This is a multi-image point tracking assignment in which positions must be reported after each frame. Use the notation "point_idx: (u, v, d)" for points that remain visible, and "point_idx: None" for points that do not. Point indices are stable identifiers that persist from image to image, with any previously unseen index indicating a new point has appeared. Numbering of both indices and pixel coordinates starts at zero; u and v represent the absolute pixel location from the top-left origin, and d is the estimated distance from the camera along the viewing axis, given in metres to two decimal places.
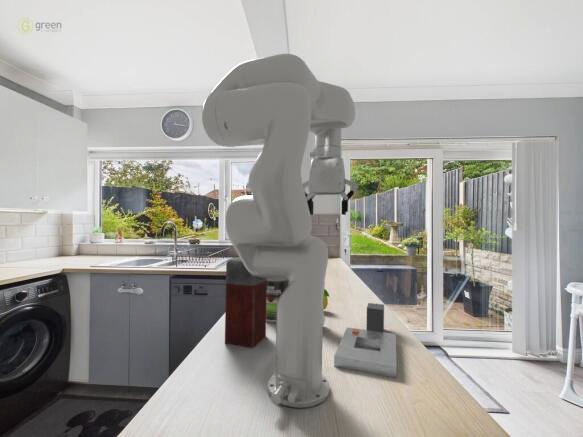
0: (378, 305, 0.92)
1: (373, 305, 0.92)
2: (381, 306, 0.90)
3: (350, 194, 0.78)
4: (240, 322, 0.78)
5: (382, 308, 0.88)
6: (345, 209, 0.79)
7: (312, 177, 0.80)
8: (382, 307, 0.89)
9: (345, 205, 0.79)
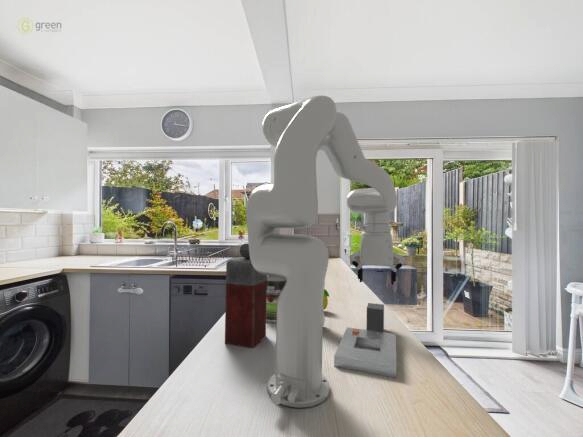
0: (378, 305, 0.92)
1: (373, 305, 0.92)
2: (381, 306, 0.90)
3: (399, 266, 0.88)
4: (240, 322, 0.78)
5: (382, 308, 0.88)
6: (394, 279, 0.89)
7: (363, 250, 0.90)
8: (382, 307, 0.89)
9: (394, 276, 0.89)
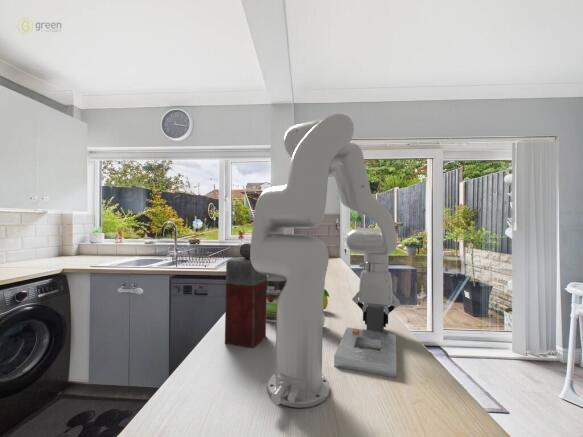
0: (378, 305, 0.92)
1: (373, 305, 0.92)
2: (381, 306, 0.90)
3: (391, 309, 0.88)
4: (240, 322, 0.78)
5: (382, 308, 0.88)
6: (386, 322, 0.89)
7: (363, 289, 0.90)
8: (382, 307, 0.90)
9: (386, 318, 0.89)
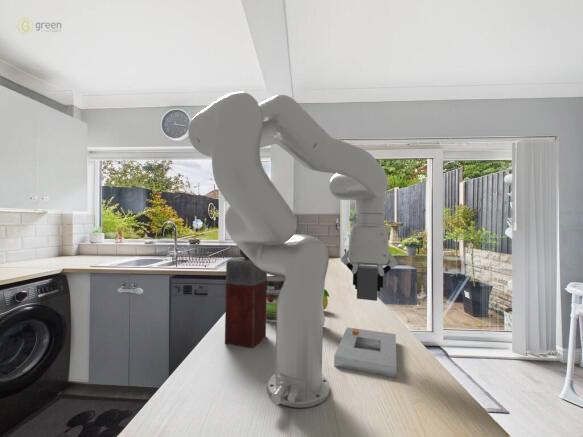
0: (371, 266, 0.76)
1: (365, 266, 0.76)
2: (375, 267, 0.75)
3: (386, 270, 0.73)
4: (240, 322, 0.78)
5: (376, 268, 0.73)
6: (381, 285, 0.73)
7: (353, 245, 0.74)
8: (376, 267, 0.74)
9: (381, 281, 0.73)
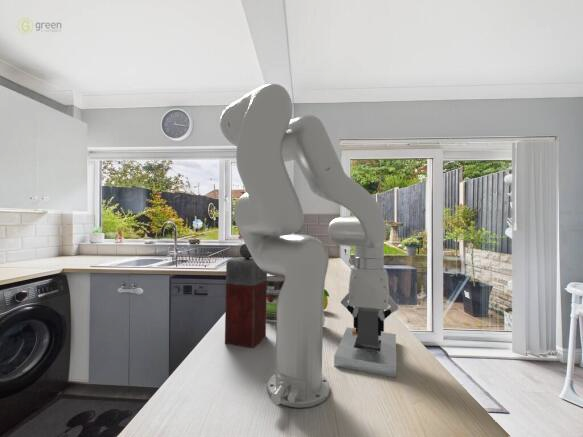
0: None
1: None
2: (375, 310, 0.75)
3: (387, 314, 0.73)
4: (240, 322, 0.78)
5: (376, 312, 0.73)
6: (381, 329, 0.73)
7: (353, 290, 0.74)
8: (376, 311, 0.74)
9: (381, 325, 0.73)
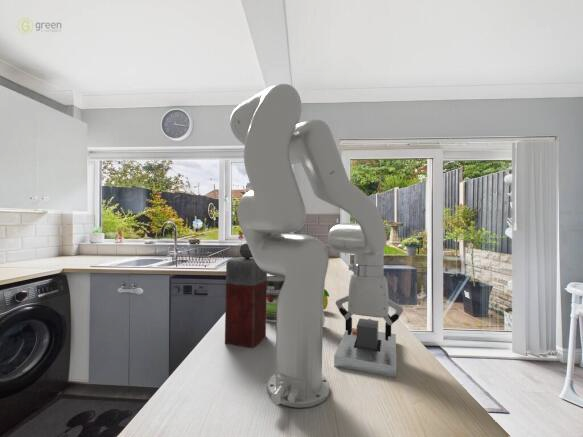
0: (371, 322, 0.76)
1: (365, 322, 0.76)
2: (374, 324, 0.74)
3: (395, 319, 0.72)
4: (240, 322, 0.78)
5: (375, 326, 0.73)
6: (389, 334, 0.72)
7: (352, 297, 0.74)
8: (375, 324, 0.74)
9: (389, 330, 0.72)
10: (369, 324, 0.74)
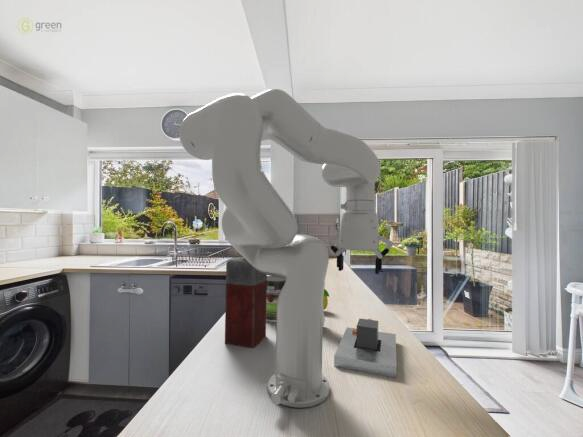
0: (371, 322, 0.76)
1: (365, 322, 0.76)
2: (374, 324, 0.74)
3: (385, 252, 0.73)
4: (240, 322, 0.78)
5: (375, 326, 0.73)
6: (379, 268, 0.73)
7: (343, 232, 0.75)
8: (375, 324, 0.74)
9: (379, 264, 0.73)
10: (369, 324, 0.74)
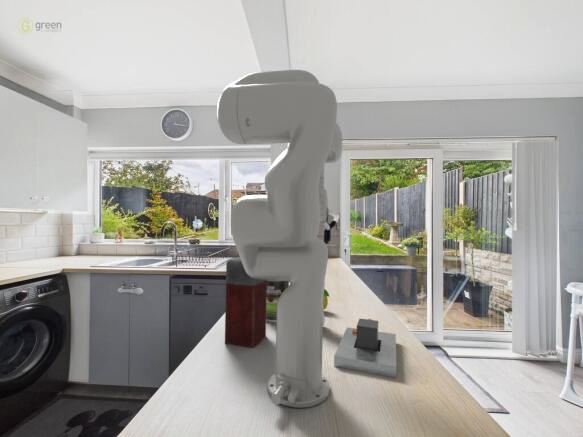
0: (371, 322, 0.76)
1: (365, 322, 0.76)
2: (374, 324, 0.74)
3: (332, 224, 0.81)
4: (240, 322, 0.78)
5: (375, 326, 0.73)
6: (327, 238, 0.81)
7: None
8: (375, 324, 0.74)
9: (327, 235, 0.81)
10: (369, 324, 0.74)
